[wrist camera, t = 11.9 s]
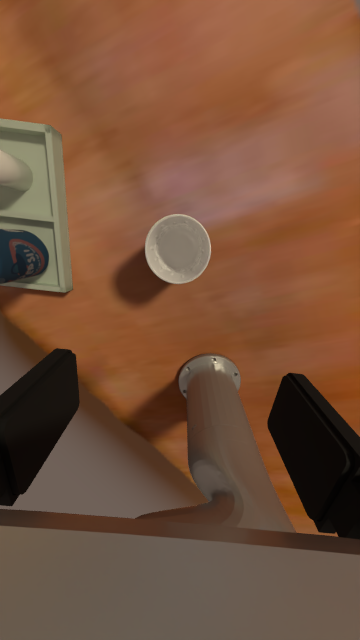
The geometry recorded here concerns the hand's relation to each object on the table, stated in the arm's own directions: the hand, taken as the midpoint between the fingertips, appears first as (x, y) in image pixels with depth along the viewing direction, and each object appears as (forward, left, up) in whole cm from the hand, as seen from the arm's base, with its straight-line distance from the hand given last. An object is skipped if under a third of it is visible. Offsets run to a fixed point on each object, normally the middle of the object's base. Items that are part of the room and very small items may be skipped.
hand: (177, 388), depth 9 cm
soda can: (+2, +25, -28) cm, 37 cm away
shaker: (+12, +25, -27) cm, 39 cm away
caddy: (+7, +25, -28) cm, 38 cm away
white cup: (+5, +1, -28) cm, 29 cm away
